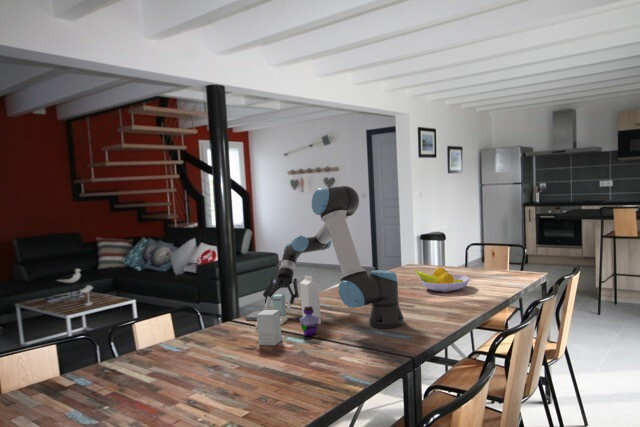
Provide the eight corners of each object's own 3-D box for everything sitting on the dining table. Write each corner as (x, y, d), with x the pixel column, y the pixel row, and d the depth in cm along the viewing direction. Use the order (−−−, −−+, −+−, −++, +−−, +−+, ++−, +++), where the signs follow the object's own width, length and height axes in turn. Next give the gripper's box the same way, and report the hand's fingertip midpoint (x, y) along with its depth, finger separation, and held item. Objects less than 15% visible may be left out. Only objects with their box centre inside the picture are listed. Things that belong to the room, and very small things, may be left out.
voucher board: (268, 319, 230) (267, 314, 230) (287, 319, 227) (287, 314, 227) (255, 328, 216) (255, 323, 216) (276, 328, 213) (275, 323, 213)
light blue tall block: (277, 316, 234) (275, 294, 233) (286, 316, 233) (284, 294, 232) (274, 318, 230) (272, 296, 229) (282, 319, 228) (280, 296, 228)
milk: (310, 326, 212) (306, 277, 211) (302, 324, 217) (298, 276, 216) (321, 323, 216) (317, 275, 215) (313, 321, 221) (309, 273, 219)
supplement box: (282, 339, 197) (280, 309, 196) (275, 346, 190) (272, 314, 189) (266, 339, 199) (263, 309, 199) (258, 345, 192) (255, 314, 192)
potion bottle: (296, 337, 199) (294, 308, 198) (304, 330, 207) (302, 303, 206) (316, 338, 196) (314, 309, 195) (323, 331, 204) (321, 303, 203)
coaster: (254, 314, 241) (254, 311, 241) (272, 314, 238) (272, 311, 238) (245, 319, 231) (245, 316, 231) (264, 320, 228) (264, 317, 228)
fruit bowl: (475, 285, 269) (474, 265, 268) (461, 296, 246) (460, 274, 245) (427, 282, 284) (426, 263, 283) (410, 293, 261) (408, 272, 260)
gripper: (310, 274, 241) (302, 313, 227) (268, 275, 248) (257, 313, 234) (306, 266, 236) (297, 305, 222) (263, 267, 243) (252, 305, 229)
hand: (277, 309), depth 228 cm, fingers open, 11 cm apart
